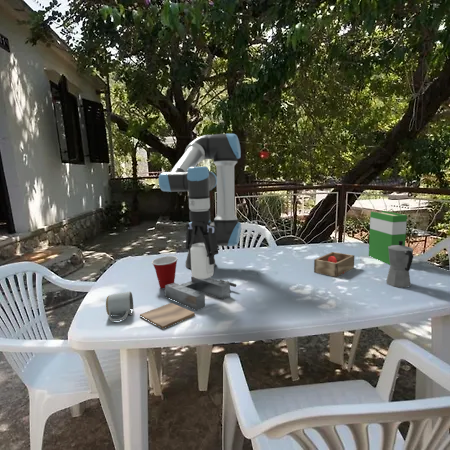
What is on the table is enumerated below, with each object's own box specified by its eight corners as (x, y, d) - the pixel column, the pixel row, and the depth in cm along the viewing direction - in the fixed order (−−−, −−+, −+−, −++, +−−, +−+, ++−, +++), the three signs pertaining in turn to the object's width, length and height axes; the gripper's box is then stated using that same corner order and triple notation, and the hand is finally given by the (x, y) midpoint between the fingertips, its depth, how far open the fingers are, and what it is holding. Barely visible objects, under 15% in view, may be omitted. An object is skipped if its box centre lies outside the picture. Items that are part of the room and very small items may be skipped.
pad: (140, 317, 112) (139, 314, 112) (171, 305, 121) (171, 302, 121) (162, 329, 103) (162, 326, 103) (194, 315, 112) (194, 312, 112)
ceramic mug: (110, 310, 118) (108, 290, 116) (134, 308, 119) (132, 288, 117) (104, 325, 107) (102, 302, 106) (130, 322, 109) (128, 300, 107)
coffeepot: (379, 278, 143) (381, 237, 140) (401, 278, 143) (404, 237, 140) (397, 291, 128) (400, 246, 125) (422, 291, 128) (425, 245, 125)
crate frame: (314, 272, 154) (314, 259, 153) (332, 263, 167) (332, 251, 166) (336, 277, 146) (337, 263, 145) (353, 267, 159) (354, 255, 158)
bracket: (344, 274, 151) (344, 257, 150) (334, 275, 150) (335, 258, 149) (330, 267, 163) (331, 251, 161) (322, 267, 162) (322, 252, 161)
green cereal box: (368, 255, 179) (370, 211, 175) (381, 255, 180) (383, 210, 176) (390, 265, 162) (393, 216, 158) (403, 263, 163) (407, 215, 159)
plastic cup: (150, 284, 143) (149, 257, 141) (175, 280, 147) (174, 254, 145) (156, 293, 133) (154, 264, 131) (182, 288, 138) (180, 260, 136)
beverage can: (196, 281, 119) (195, 248, 117) (188, 275, 127) (186, 244, 124) (217, 277, 123) (215, 245, 121) (207, 271, 130) (206, 241, 128)
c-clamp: (165, 297, 129) (164, 285, 128) (207, 282, 145) (207, 271, 144) (196, 310, 116) (196, 296, 115) (239, 292, 132) (239, 280, 131)
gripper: (173, 209, 125) (177, 267, 129) (212, 213, 110) (214, 279, 115) (189, 206, 130) (191, 262, 134) (227, 210, 116) (229, 273, 120)
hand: (202, 270), depth 124 cm, fingers closed on beverage can, 8 cm apart
